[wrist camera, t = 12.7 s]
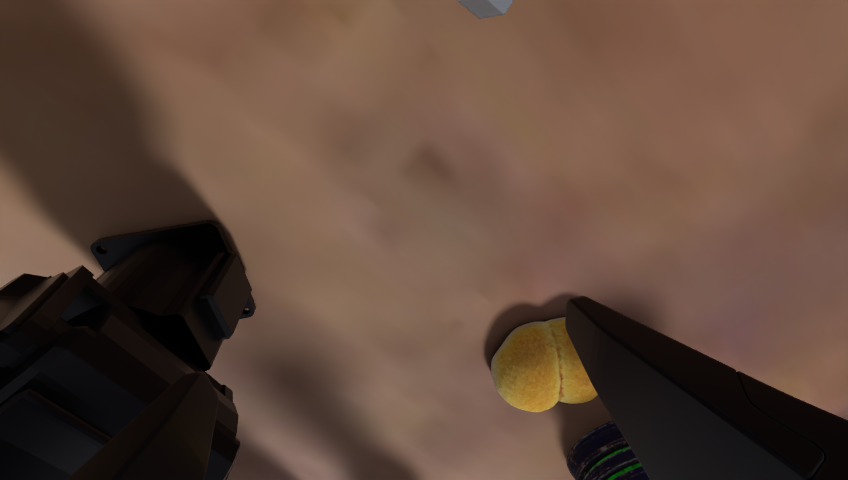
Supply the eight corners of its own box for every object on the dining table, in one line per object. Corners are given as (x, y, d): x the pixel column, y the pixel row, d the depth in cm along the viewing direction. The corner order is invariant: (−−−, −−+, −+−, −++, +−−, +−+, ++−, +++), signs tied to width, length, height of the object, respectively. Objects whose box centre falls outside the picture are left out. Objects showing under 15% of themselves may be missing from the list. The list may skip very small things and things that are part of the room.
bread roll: (485, 325, 27) (503, 367, 24) (601, 302, 28) (635, 339, 24) (489, 400, 31) (505, 445, 28) (591, 378, 32) (619, 419, 28)
